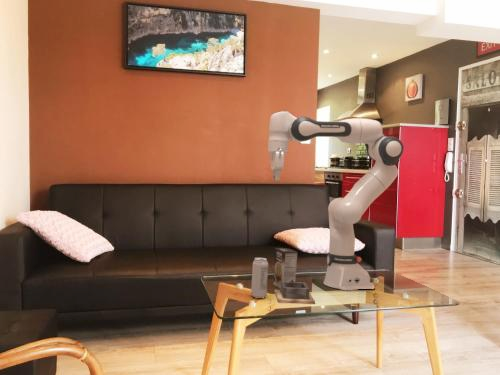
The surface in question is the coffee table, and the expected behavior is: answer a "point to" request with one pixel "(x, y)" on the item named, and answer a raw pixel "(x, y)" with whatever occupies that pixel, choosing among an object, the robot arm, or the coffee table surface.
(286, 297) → the can stand
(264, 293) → the energy drink can
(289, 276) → the coffee box
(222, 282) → the coffee table surface
